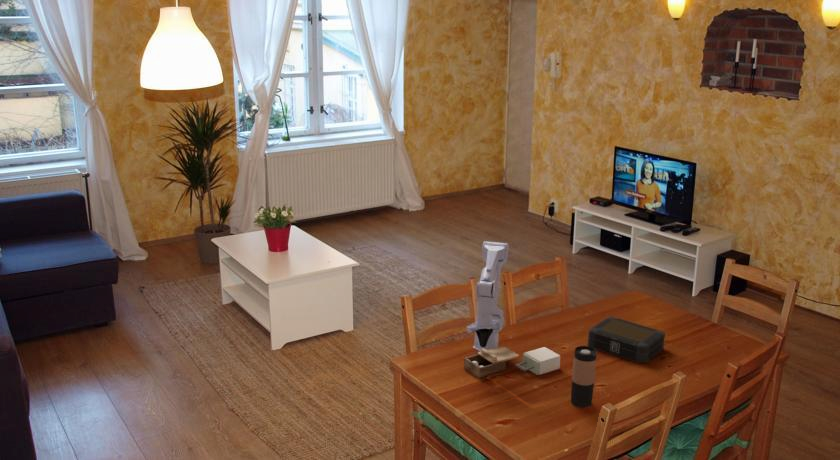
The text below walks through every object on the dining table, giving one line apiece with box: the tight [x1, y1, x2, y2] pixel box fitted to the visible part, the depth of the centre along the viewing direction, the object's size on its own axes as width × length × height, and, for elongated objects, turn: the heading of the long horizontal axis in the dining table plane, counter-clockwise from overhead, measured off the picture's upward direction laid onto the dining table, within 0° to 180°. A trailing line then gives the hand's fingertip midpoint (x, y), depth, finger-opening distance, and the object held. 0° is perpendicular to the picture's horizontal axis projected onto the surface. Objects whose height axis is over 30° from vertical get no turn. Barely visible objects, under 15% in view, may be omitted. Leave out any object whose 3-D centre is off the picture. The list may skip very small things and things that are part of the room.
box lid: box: [477, 345, 520, 364], centre depth 309 cm, size 10×12×2 cm
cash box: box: [587, 316, 666, 365], centre depth 329 cm, size 25×20×8 cm
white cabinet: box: [523, 346, 561, 375], centre depth 308 cm, size 9×10×6 cm
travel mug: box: [570, 345, 598, 409], centre depth 283 cm, size 8×8×20 cm
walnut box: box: [463, 353, 507, 379], centre depth 307 cm, size 10×12×5 cm
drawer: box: [515, 353, 540, 376], centre depth 307 cm, size 9×15×6 cm, turn 123°
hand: (482, 346), depth 304 cm, fingers closed
